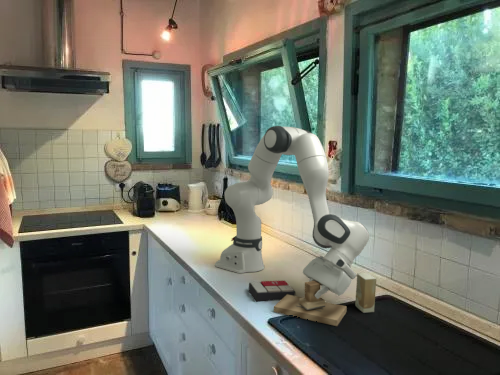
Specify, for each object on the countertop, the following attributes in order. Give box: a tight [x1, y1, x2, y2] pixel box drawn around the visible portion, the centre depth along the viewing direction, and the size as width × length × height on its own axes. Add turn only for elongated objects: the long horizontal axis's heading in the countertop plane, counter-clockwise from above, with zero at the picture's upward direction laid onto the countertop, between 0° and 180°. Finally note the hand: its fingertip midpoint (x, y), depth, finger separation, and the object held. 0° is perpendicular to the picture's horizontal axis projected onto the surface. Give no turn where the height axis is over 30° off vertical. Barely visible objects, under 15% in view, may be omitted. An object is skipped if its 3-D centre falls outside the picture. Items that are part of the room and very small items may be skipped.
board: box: [273, 294, 348, 327], centre depth 144 cm, size 22×12×2 cm, turn 63°
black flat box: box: [248, 280, 296, 303], centre depth 159 cm, size 11×4×15 cm
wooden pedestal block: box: [299, 280, 326, 310], centre depth 143 cm, size 5×7×8 cm
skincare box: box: [354, 272, 377, 314], centre depth 146 cm, size 6×4×12 cm
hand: (311, 294), depth 143 cm, fingers closed on wooden pedestal block, 3 cm apart
